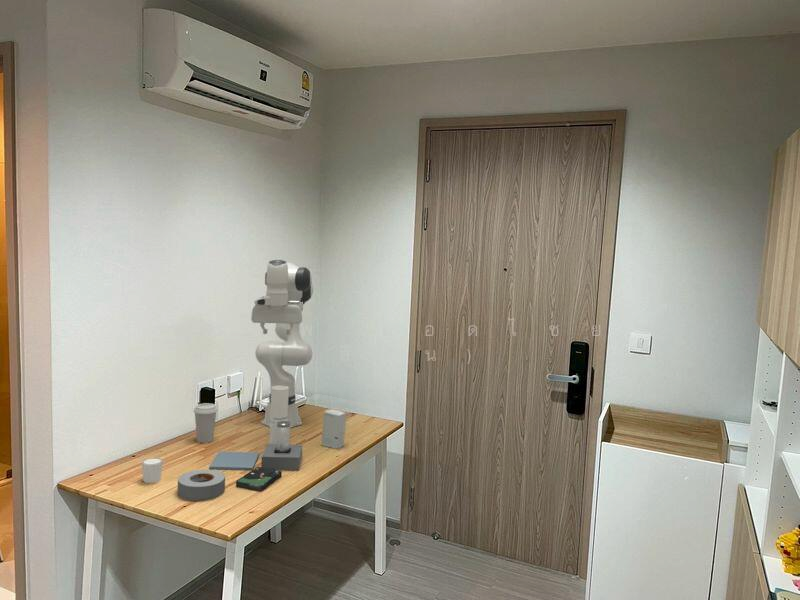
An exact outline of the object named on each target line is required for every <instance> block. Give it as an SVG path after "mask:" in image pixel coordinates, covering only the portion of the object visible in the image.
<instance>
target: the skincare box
mask: <svg viewBox="0 0 800 600" xmlns="http://www.w3.org/2000/svg"><path fill="white" fill-rule="evenodd" d="M347 416H348V415H347V412H345V411H341V410H337V409H332V408H331V409H327V410H324V411H323V422H322V434H321V444H320V445H321V446H323V447H327V448H331V449H335V450H338V449H340V448H342V447H344V445H345V437H346V436H345V435H346V425H347V424H346V423H347Z"/></svg>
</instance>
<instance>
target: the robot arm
mask: <svg viewBox="0 0 800 600" xmlns="http://www.w3.org/2000/svg"><path fill="white" fill-rule="evenodd" d="M264 284H265V285H266V292H265V295H264V296H261V297H258V298H256V299H255V300H254V306H253V307H252V309H251V310H252V311H251V322H252V323H254V324H256V323H257V324H260V325H259V326H260V328H261V330H262V334H263V335H267V334H268V328H266V327H265V325H266V324H275V329H274V330H275V331H274V332H275V334H276V336H277V337H278V338H279V339H280V340H282V341H279V340H278V341H277V340H275V341H274V340H273V341H272V340H269V341H262V342H260V343H259V344H258V345H257V346H256V348H255V357H256V361H258V363H259V364H260V365H262V366H263V367H264V368H265V370H266V371H267V373H268V375H269V380H270V388H271V387H272V386H277V385H283V386H288V387H289V396H288V422H290V428H293V427H297V426H301V425H303V422H302V419H301V416H300V413H299V407H298V405H297V404H296V394H295V393H296V392H295V391H296V379H295V377H294V375H293V374H291V373H289V372H288V371H286V370H285V369H284V367H283V366H287V367H289V366H290V367H292V366H293V367H299V366H306V365H308V364H309V363H310V362H311V361H312V358H313V350H312V347H311V346H310V344H308V343H307V342H306V341H304V339H303V338H302V337H301V333H300V325H301V323H302V322H303V314H302V312H303V310H304V305H305V304H306V303H307V302H308V301H309V300H311V299H312V296H313V293H314V285H313V282H312V274H311V271H310V269H308V268H307V267H304V266H303V267H302V266H301V267H299V266H298V265H297V264H295V263H293V262H291V261H286V260H282V259H273V260H270V261H268V263H267V269H266V272H265V275H264ZM268 400H269V401H268V404H267V405H266V406H265V413H264V414H265V415H264V419H262V420H261V421H260V424H261V425H265V426H267V427H269V428H270V411H271V393H269V396H268Z"/></svg>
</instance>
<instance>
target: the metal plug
mask: <svg viewBox="0 0 800 600" xmlns="http://www.w3.org/2000/svg"><path fill="white" fill-rule="evenodd" d="M290 437H291V427H290V422H288V421H280V422H277V440H276V453H288V454H289V444H290V443H291V442H290V440H291V438H290Z"/></svg>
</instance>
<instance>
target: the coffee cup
mask: <svg viewBox="0 0 800 600" xmlns="http://www.w3.org/2000/svg"><path fill="white" fill-rule="evenodd" d="M217 412H218V408H217V407H216V404H215V403H209V402H208V403H207V402H205V403H204V402H203V403H198V404H197V405H195V407H194V409H193V413H194V420H195V421H194V422H195V434H196V442H197V443H199V442H201V443H200V444H208V443H207V442H209V443H211V441H212V442H213V441H214V436H215V435H214V433H215V425H216V424H215V423H216V416H217Z"/></svg>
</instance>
